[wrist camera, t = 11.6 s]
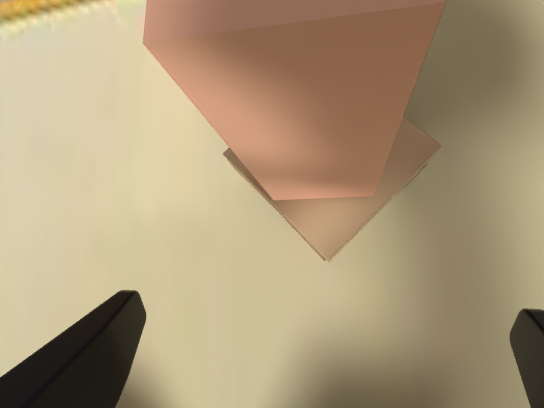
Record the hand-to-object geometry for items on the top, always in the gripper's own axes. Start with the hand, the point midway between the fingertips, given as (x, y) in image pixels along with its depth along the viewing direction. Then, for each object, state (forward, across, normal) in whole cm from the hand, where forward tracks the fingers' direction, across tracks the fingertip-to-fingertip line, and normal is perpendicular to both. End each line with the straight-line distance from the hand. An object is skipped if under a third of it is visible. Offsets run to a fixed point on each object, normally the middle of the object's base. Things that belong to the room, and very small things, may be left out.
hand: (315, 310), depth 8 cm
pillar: (+11, 0, +1) cm, 11 cm away
